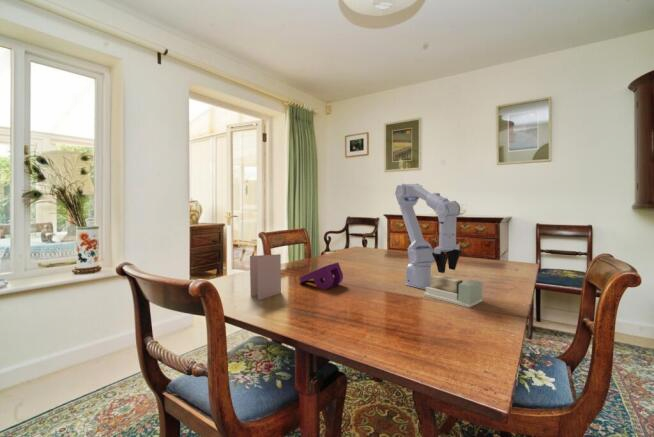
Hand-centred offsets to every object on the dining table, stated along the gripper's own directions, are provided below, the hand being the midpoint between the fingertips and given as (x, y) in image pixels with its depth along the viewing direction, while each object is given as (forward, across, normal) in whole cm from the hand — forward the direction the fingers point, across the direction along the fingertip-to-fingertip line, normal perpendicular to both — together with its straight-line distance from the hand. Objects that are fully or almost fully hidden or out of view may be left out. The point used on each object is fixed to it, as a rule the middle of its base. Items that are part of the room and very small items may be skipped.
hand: (446, 270), depth 117 cm
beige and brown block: (+8, -1, 0) cm, 8 cm away
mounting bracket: (+10, -26, +44) cm, 52 cm away
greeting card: (+10, -50, +43) cm, 67 cm away
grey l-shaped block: (+9, -1, -3) cm, 10 cm away
